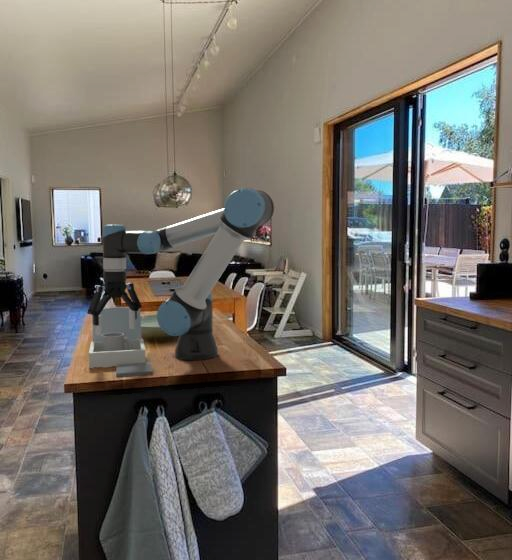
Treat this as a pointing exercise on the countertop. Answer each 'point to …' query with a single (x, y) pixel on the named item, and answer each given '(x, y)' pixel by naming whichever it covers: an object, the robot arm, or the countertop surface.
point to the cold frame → (120, 324)
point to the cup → (115, 342)
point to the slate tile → (133, 369)
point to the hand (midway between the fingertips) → (115, 331)
